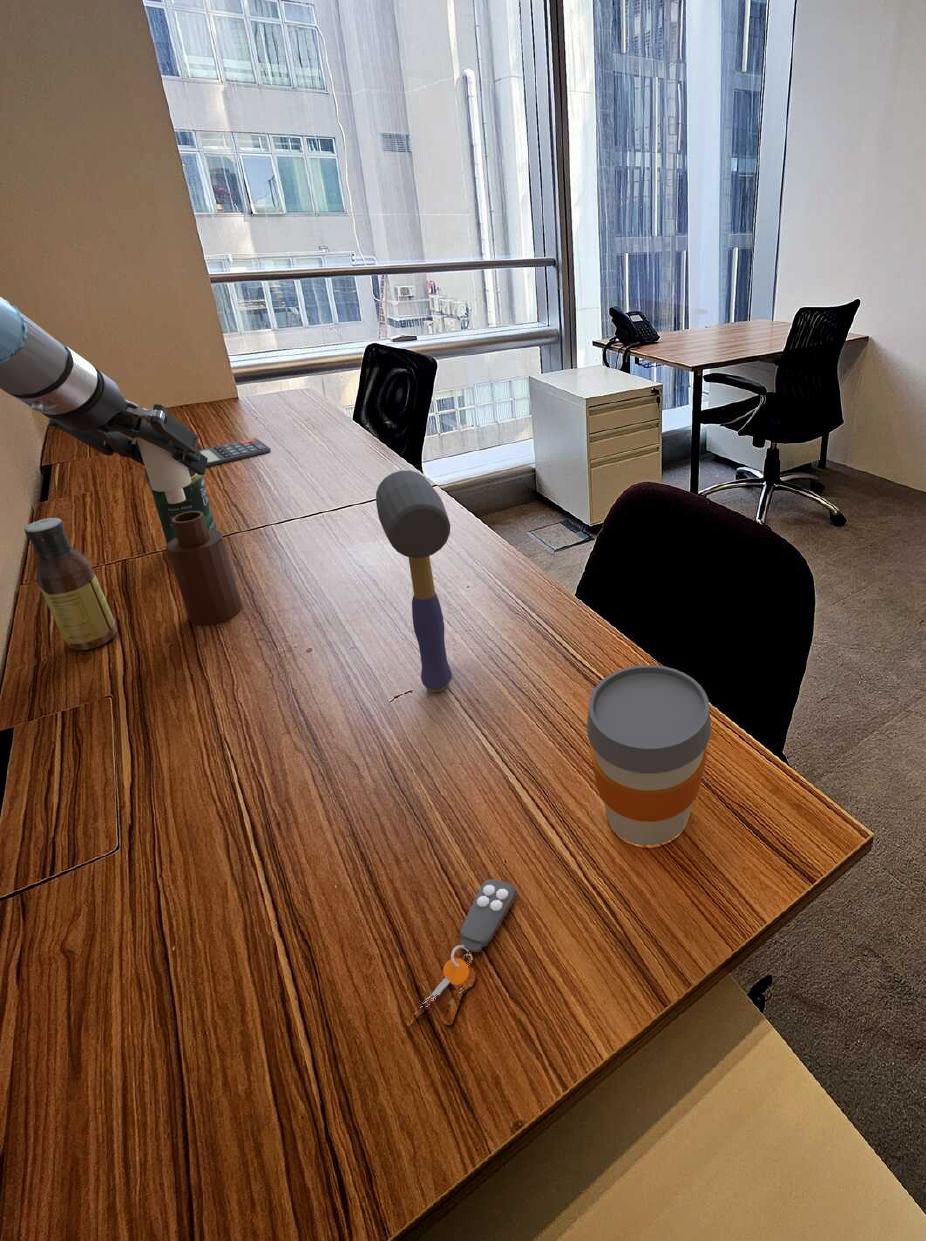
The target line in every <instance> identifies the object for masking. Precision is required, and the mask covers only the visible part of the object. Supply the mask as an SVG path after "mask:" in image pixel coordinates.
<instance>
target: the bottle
mask: <svg viewBox="0 0 926 1241" xmlns="http://www.w3.org/2000/svg"><path fill="white" fill-rule="evenodd" d="M172 524H173V527H174V530H175V534H176V538H174V539H172V540H171V541H170V542H169V543H166V546H165V549H166V552H167V555H168V558H169V562H170V565H171V567H172V571H173V573H174V576H175V579H176V583H177V586H178V589H179V592H180V595H181V599H182V601H183V604H184V608H185V610H186V613H187V617H188V618H189V621H190V622H191V624H193V625H195V626H211V625H217V624H220V623H223V622H226V621H227V620H230V619H232V618H234V617H235V616H236V615H238V614H239V613H240V611H242V608H243V605H242V598H241V596H240V592H239V589H238V585H237V580H236V578H235V574H234V571H233V567H232V563H231V561H230V557H229V554H228V550H227V546H226V542H225V540H224V536H223V533H222V532H221V531H219V530H218V531H216V530H208V529H207V525H206V522H205V518H204V515H203V512H200V511H189V512H185V513H181V514H179V515H176V516H175V517H173V518H172Z"/></svg>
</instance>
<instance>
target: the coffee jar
mask: <svg viewBox="0 0 926 1241" xmlns="http://www.w3.org/2000/svg"><path fill="white" fill-rule="evenodd" d="M143 471H144V474H145V479H146V481H147V484H148V488H149V489H150V492H151V495H152V498H153V502H154V505H155V508H156V511H157V515H158V518H159V521H160V525H161V529H162V533H163V536H164V539H165V544H167V543H169V542H170V541H171V540H172V539H174V538H176V534H175V530H174V527H173V524H172V518H173V517H175V516H176V515H179V514H181V513H185V512H189V511H200V512H203V515H204V518H205V522H206V525H207V529H208V530H216V531H219V530H218V527H217V523H216V520H215V517H214V513H213V510H212V506H211V503H210V499H209V496H208V492H207V488H206V485H205V481H204V475H198V474H197V473H195V472H194V471H192V470H191V469H189V468H188V471H189V474H190V478H191V483H190V484H189V485H187V486H185V487H183V491H184V495H185V498H186V500H185V501H183V502H180V503H175V504H170V503H168V501H167V498H166V494H165V491H163V492H160V491H154V490H153V489H152V487H151V484H150V480H149V477H148V474H147V471H146V468H145V467H144V469H143Z"/></svg>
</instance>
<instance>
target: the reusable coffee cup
mask: <svg viewBox="0 0 926 1241" xmlns="http://www.w3.org/2000/svg"><path fill="white" fill-rule="evenodd" d="M710 709H711V708H710V702H709V698H708V696H707V693H706V691H705V690H704V688H703V687H702V685H701V684H700V683H698V681H696V680H695V679H694V678H693V677H691V676H690V675H688V674H687V673H685V672H683V671H680V670H678V669H676V668H672V667H669V666H665V665H664V666H663V665H657V664H639V665H632V666H629V667H624V668H621V669H619V670H615V671H613V672H612V673H610V674H609V675H607V676H605V677H604V678H603V679H601V681H599V682H598V683H597V684H596V685H595V687H594V689H593V690H592V692H591V694H590V697H589V702H588V710H587V720H586V721H587V722H586V733H587V739H588V741H589V743H590V748H589V753H590V759H591V764H592V769H593V775H594V778H595V779H594V780H595V783H596V784H595V785H596V788H597V792H598V793H599V796H600V798H601V799H602V801H603V804H604V808H605V813H606V818H607V819H606V820H607V822H608V821H609V823H608V825H609V824H610V825H609V827H610V826H611V827H612V828H613V830H614V831H615V832H616V833H617V834H618V835H619V836H620V837H621V838H623V839H625V840H626V841H628V842H631V843H634V844H639V845H655V844H661V843H664V842H667V841H669V840H671V839H672V838H674V837H675V836H677V835H678V834H679V833H680V832H681V831H682V830H683V829H684V827H685V826H686V824H687V825H688V823H689V820H688V819H690V814H691V810H692V806H693V803H694V801H695V800H696V799H697V796H698V794H699V792H700V789H701V784H702V781H703V780H702V779H703V775H704V770H705V766H706V761H707V756H708V746H707V745H708V743H709V741H710V739H711V733H712V724H711V711H710ZM687 822H688V823H687ZM611 827H610V828H611ZM686 827H687V826H686Z"/></svg>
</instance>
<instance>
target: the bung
mask: <svg viewBox="0 0 926 1241" xmlns="http://www.w3.org/2000/svg"><path fill="white" fill-rule="evenodd" d="M135 439H136V440H135V441H137V443H138V446H139V449H140V452H141V456H142V459H143V462H144V465H145V466H144V469H145V468H146V471H147V474H148V477H149V480H150V484H151V487H152V489H153V490H154V491H160V492H163V491H165V494H166V498H167V501H168V503H170V504H175V503H180V502H183V501H185V500H186V498H185V495H184V491H183V487H185V486H187V485H189V484H190V483H191V478H190V474H189V471H188V467H186V466H185V465H183V464H182V463H180V462H179V461H177V460H175V459H174V458H173V453H171V452H169V451H167V450H165V449H163V448H160V447H158V446H156V445H154V444H152V443H150V442H148V441H146V440H143V439H141V438H139V437H138V438H135Z"/></svg>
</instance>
